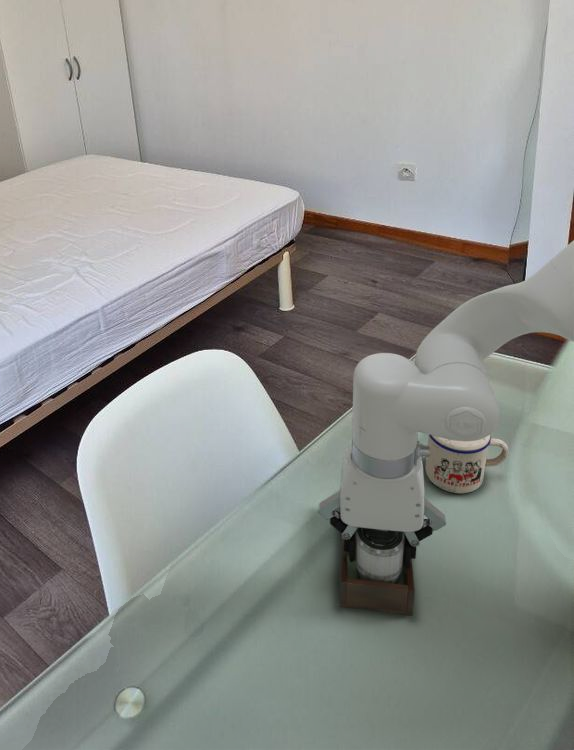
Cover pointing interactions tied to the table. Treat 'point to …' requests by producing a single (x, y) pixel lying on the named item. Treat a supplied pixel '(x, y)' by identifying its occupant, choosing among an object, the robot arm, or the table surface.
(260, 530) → the table surface
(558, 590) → the table surface
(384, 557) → the camera lens
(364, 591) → the holder
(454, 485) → the teacup with lid
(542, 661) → the table surface
